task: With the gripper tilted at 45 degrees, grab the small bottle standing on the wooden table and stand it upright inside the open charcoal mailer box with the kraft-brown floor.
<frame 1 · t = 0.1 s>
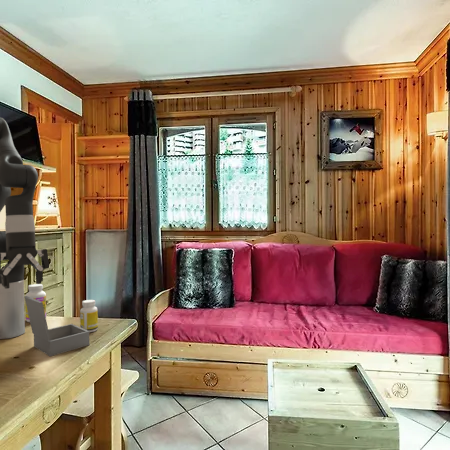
hand: (23, 285, 103), 17 cm above the table, tool pointing down, fingers open, 8 cm apart
supplement bottle 2: (36, 320, 128), on the table
mailer box: (61, 345, 102), on the table
supplement bottle: (89, 331, 116), on the table
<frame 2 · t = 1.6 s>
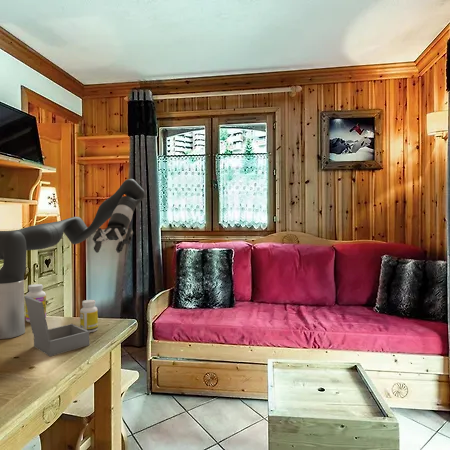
hand: (106, 251, 127), 25 cm above the table, tool tilted 45°, fingers open, 8 cm apart
nothing on the table moved.
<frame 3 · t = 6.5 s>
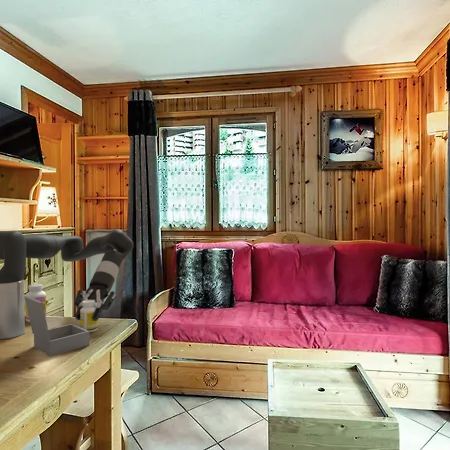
hand: (85, 319, 114), 4 cm above the table, tool tilted 45°, fingers closed on supplement bottle, 5 cm apart
supplement bottle: (89, 331, 116), on the table, touching gripper
everything else where it was.
when the fingers open (7 cm above the table, at t = 13.5 s): supplement bottle drops 2 cm, resting on mailer box.
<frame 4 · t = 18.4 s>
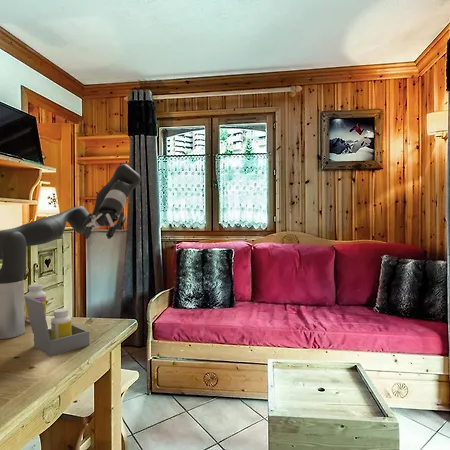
hand: (96, 237, 119), 31 cm above the table, tool tilted 45°, fingers open, 8 cm apart
supplement bottle: (61, 344, 103), resting on mailer box
everything else where it was.
at the end: supplement bottle 0.2 cm off-centre on the mailer box, point 0.4 cm above the mailer box's base; supplement bottle tilted 0°; the gripper is holding nothing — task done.
